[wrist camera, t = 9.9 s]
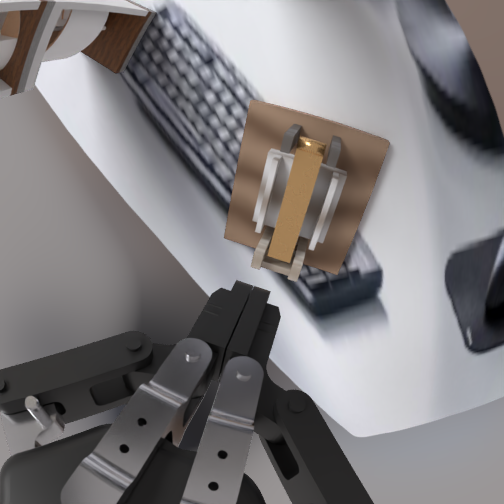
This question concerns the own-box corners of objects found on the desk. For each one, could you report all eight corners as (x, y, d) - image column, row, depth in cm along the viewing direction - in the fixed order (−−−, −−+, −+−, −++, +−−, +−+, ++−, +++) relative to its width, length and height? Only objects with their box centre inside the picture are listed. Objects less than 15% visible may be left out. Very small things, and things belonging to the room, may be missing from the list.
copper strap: (301, 134, 33) (299, 137, 32) (327, 142, 33) (326, 145, 31) (269, 250, 42) (266, 257, 41) (291, 257, 42) (289, 264, 40)
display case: (80, 45, 38) (-117, 96, 9) (107, -10, 32) (-103, 2, 3) (123, 72, 39) (-100, 142, 11) (156, 12, 33) (-90, 20, 5)
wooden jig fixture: (253, 99, 38) (231, 106, 31) (388, 140, 36) (399, 157, 29) (227, 233, 50) (206, 264, 43) (337, 269, 48) (334, 306, 41)
